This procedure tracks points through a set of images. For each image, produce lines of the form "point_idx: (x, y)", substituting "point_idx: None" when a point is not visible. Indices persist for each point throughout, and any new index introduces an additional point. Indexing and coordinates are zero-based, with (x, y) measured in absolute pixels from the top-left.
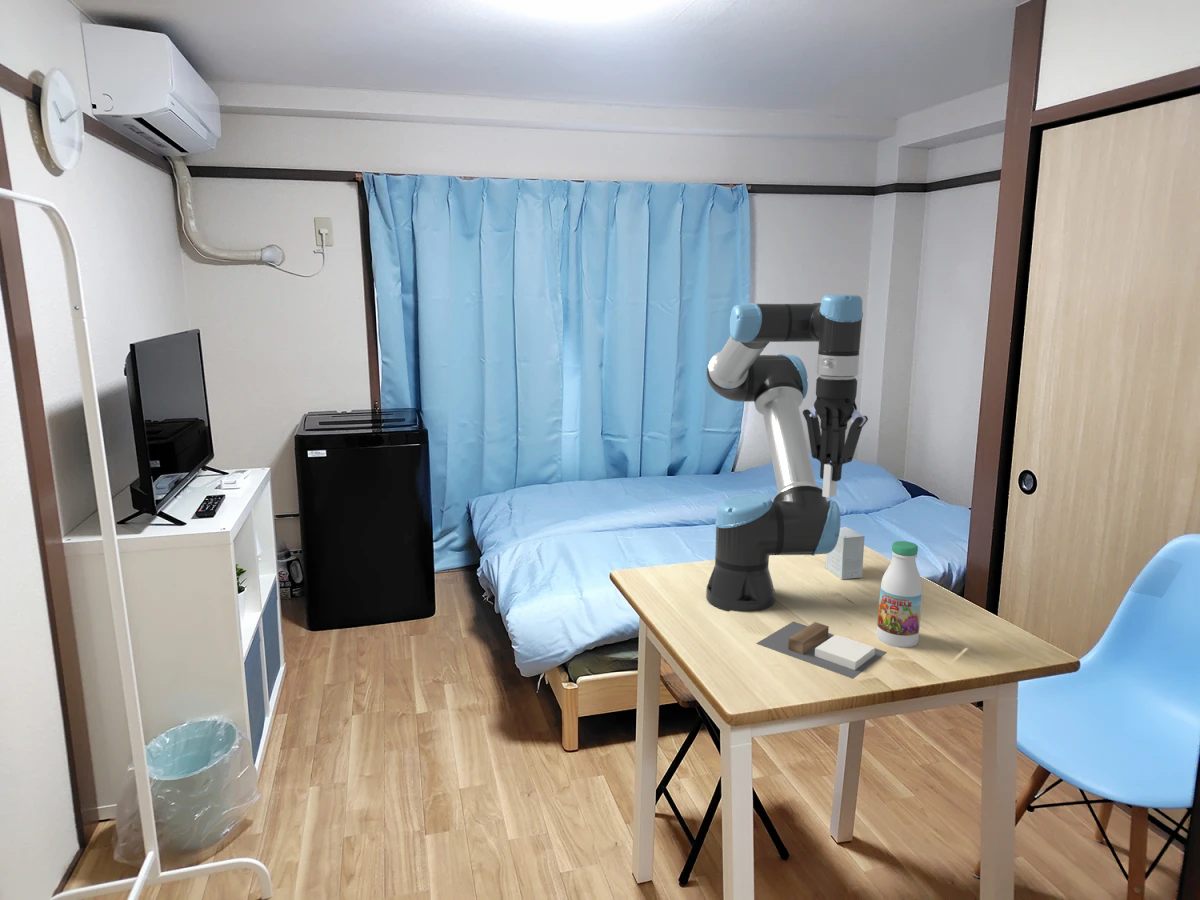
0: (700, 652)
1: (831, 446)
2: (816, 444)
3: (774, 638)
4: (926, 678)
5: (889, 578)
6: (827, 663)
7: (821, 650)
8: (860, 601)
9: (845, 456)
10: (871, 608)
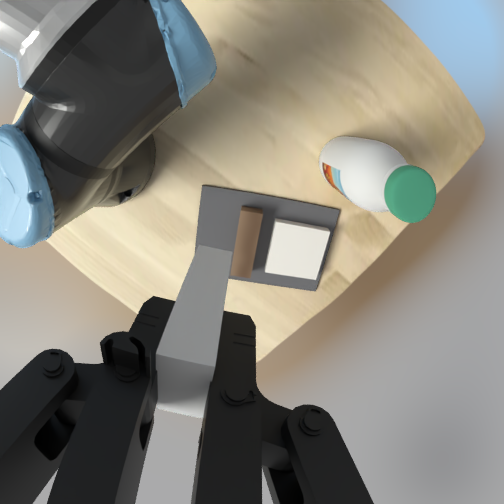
0: None
1: (125, 479)
2: (49, 469)
3: None
4: (382, 245)
5: (364, 206)
6: (283, 275)
7: (273, 273)
8: (262, 51)
9: (298, 486)
10: (285, 68)
